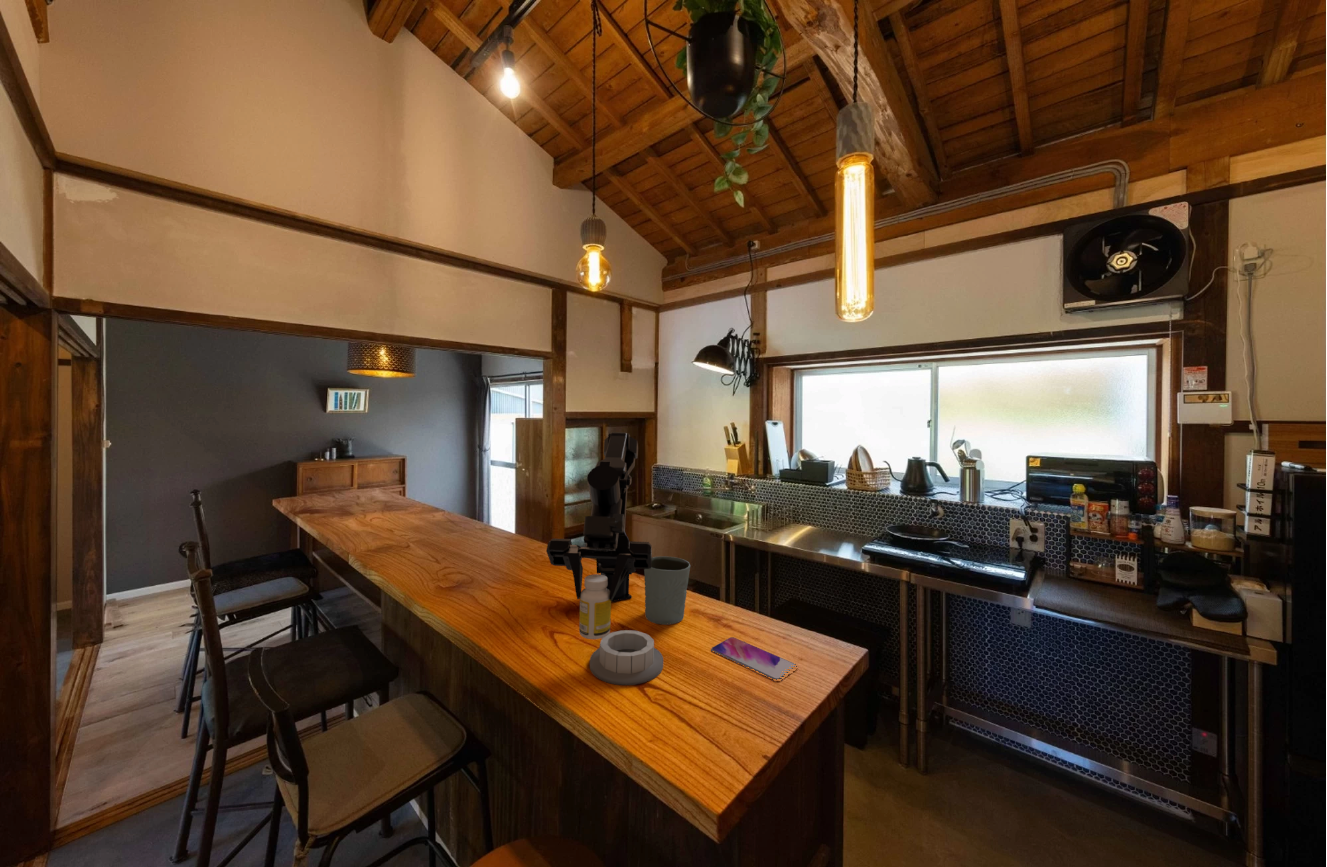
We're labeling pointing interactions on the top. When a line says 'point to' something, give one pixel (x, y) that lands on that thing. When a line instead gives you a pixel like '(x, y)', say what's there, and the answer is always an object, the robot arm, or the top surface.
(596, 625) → the supplement bottle
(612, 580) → the robot arm
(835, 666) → the top surface
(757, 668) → the smartphone
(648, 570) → the grey green cup
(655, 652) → the socket collar
